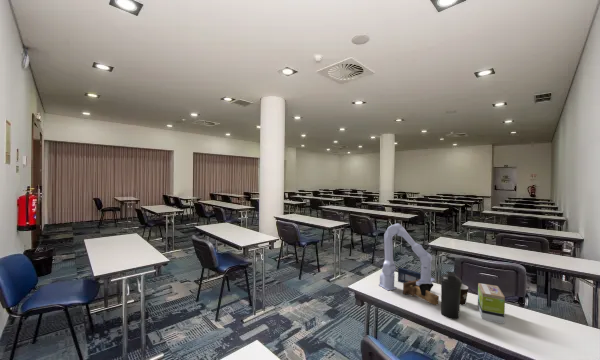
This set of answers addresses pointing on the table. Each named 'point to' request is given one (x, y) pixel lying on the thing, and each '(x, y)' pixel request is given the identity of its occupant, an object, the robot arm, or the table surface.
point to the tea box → (491, 303)
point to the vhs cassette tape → (407, 275)
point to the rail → (427, 296)
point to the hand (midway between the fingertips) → (425, 294)
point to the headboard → (409, 287)
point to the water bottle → (450, 295)
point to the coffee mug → (463, 294)
